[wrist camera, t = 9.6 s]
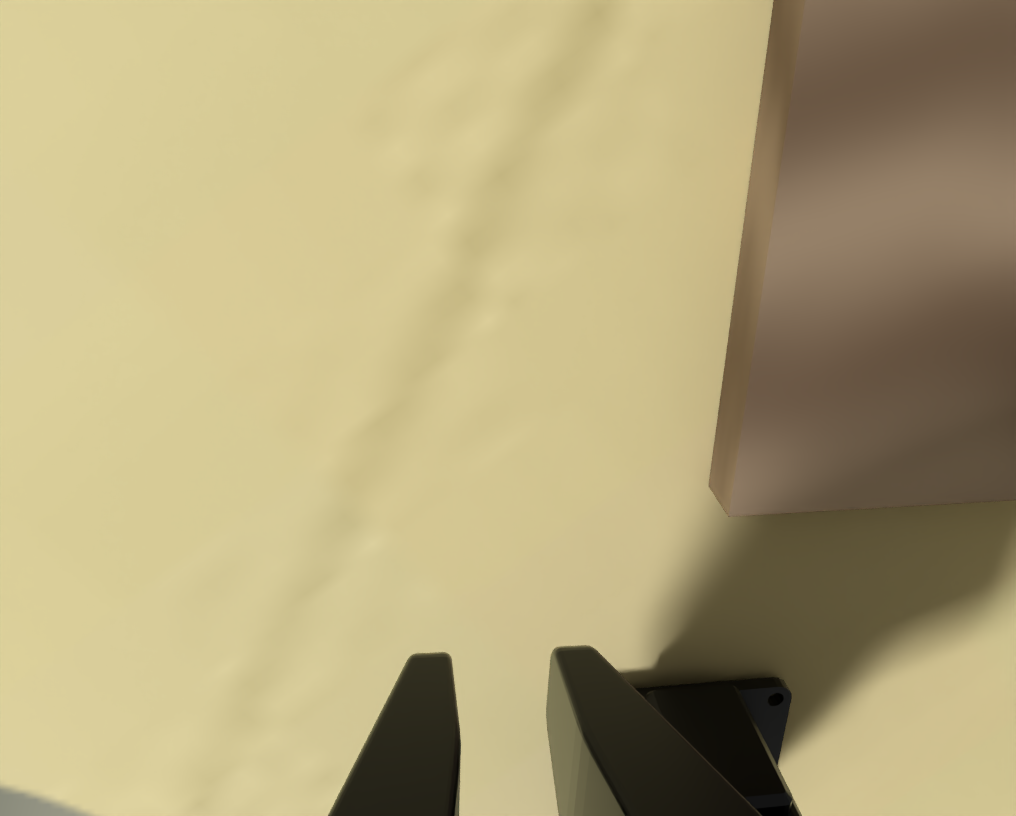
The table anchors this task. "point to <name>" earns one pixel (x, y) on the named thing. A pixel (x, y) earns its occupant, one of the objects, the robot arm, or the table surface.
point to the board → (876, 264)
